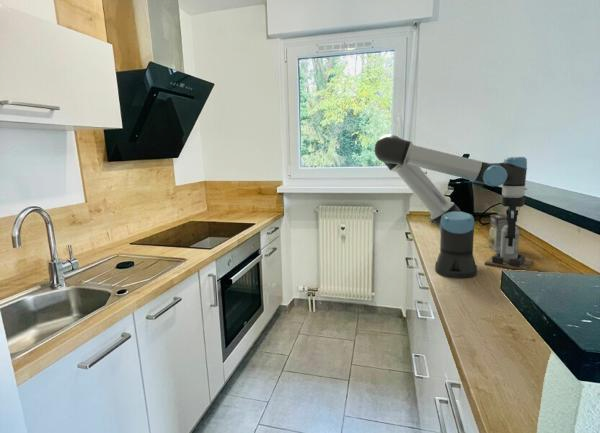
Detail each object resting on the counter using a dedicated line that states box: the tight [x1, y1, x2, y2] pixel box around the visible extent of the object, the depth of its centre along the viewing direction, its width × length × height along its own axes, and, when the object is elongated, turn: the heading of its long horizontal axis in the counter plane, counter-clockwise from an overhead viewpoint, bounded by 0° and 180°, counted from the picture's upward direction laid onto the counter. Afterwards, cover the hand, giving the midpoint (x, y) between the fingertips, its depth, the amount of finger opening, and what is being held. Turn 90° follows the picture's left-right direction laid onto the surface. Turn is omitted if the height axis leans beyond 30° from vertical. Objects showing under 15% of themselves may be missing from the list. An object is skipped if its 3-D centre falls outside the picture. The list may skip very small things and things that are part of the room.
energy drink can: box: [500, 225, 520, 263], centre depth 129 cm, size 6×6×15 cm
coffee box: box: [488, 214, 507, 253], centre depth 149 cm, size 9×6×16 cm
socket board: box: [483, 251, 534, 271], centre depth 131 cm, size 14×14×4 cm
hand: (509, 250), depth 130 cm, fingers open, 8 cm apart
